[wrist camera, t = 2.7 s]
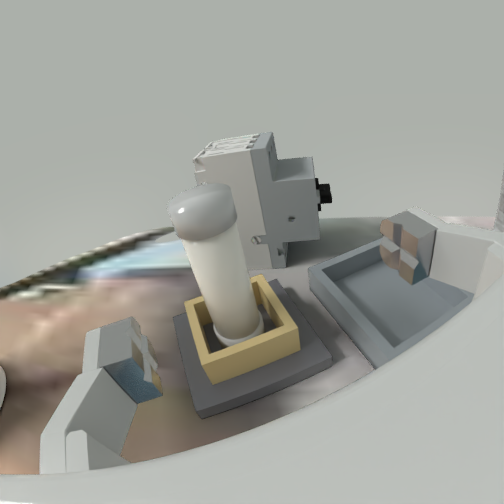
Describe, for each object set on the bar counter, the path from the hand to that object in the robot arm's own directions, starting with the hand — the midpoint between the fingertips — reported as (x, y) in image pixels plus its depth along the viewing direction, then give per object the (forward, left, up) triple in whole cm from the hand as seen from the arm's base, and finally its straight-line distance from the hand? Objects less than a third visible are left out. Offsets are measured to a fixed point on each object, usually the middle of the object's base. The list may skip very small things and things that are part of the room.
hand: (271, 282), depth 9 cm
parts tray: (+15, +9, -17) cm, 24 cm away
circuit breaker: (+9, +25, -17) cm, 32 cm away
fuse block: (0, +12, -17) cm, 21 cm away
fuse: (0, +12, -15) cm, 20 cm away
